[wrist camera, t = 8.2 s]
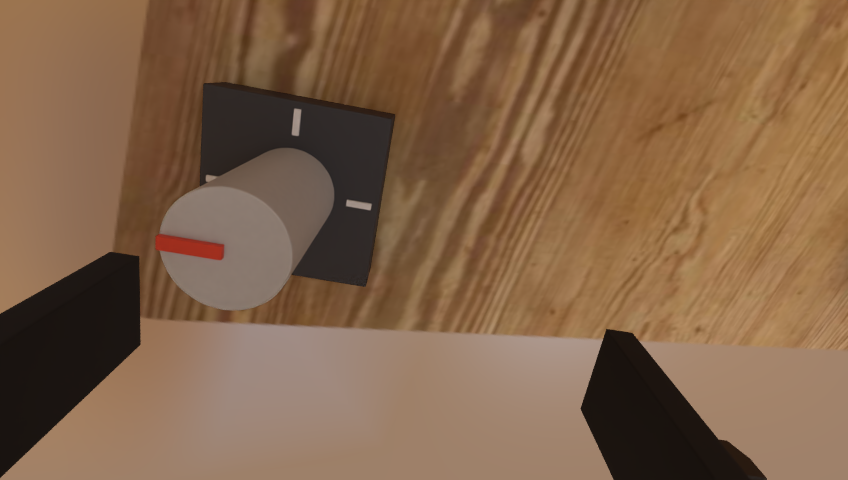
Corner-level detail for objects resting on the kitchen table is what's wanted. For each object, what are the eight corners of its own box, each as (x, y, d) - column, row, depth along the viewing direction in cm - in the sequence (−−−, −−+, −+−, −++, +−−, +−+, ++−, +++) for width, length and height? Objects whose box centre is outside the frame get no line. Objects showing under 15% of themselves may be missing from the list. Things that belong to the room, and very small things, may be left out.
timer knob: (339, 156, 27) (296, 201, 18) (328, 241, 28) (284, 324, 19) (247, 139, 26) (154, 176, 17) (242, 226, 28) (153, 303, 19)
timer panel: (370, 268, 32) (365, 288, 29) (216, 242, 32) (195, 260, 29) (395, 114, 29) (392, 119, 26) (224, 81, 28) (201, 83, 25)
